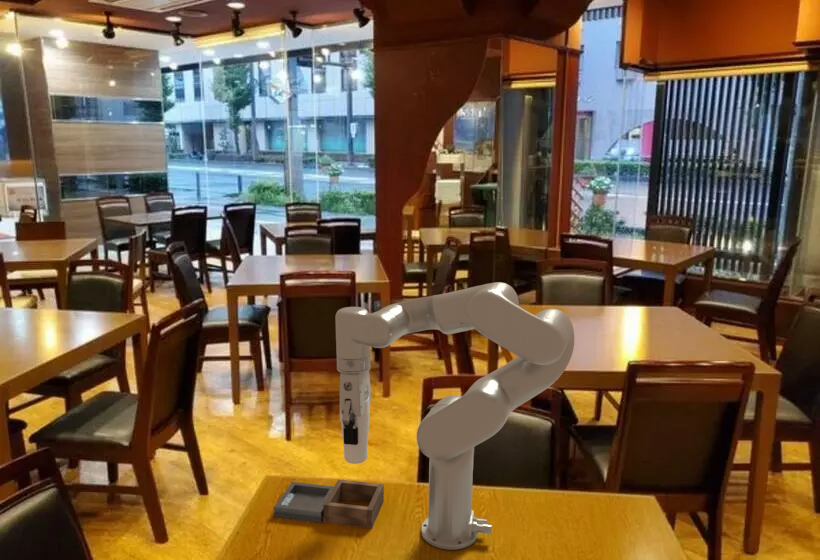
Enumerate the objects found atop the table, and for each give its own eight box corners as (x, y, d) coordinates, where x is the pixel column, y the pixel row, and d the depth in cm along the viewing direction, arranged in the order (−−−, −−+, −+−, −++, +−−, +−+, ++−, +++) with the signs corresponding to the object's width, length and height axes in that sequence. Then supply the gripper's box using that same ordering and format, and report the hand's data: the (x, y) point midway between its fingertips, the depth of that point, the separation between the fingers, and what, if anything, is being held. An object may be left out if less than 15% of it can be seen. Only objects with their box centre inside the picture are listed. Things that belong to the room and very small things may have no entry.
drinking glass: (335, 462, 141) (333, 400, 138) (351, 450, 147) (350, 390, 144) (360, 468, 138) (359, 405, 135) (376, 456, 144) (374, 395, 141)
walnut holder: (383, 501, 149) (383, 484, 149) (372, 528, 138) (372, 510, 138) (338, 496, 152) (338, 479, 151) (323, 522, 141) (323, 504, 140)
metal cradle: (336, 495, 152) (336, 486, 151) (320, 523, 140) (320, 513, 140) (292, 490, 154) (292, 481, 154) (273, 517, 142) (273, 507, 142)
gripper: (359, 376, 129) (361, 455, 132) (378, 351, 145) (380, 422, 149) (325, 374, 130) (327, 453, 134) (348, 350, 147) (350, 420, 150)
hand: (355, 436), depth 141 cm, fingers closed on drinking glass, 6 cm apart
